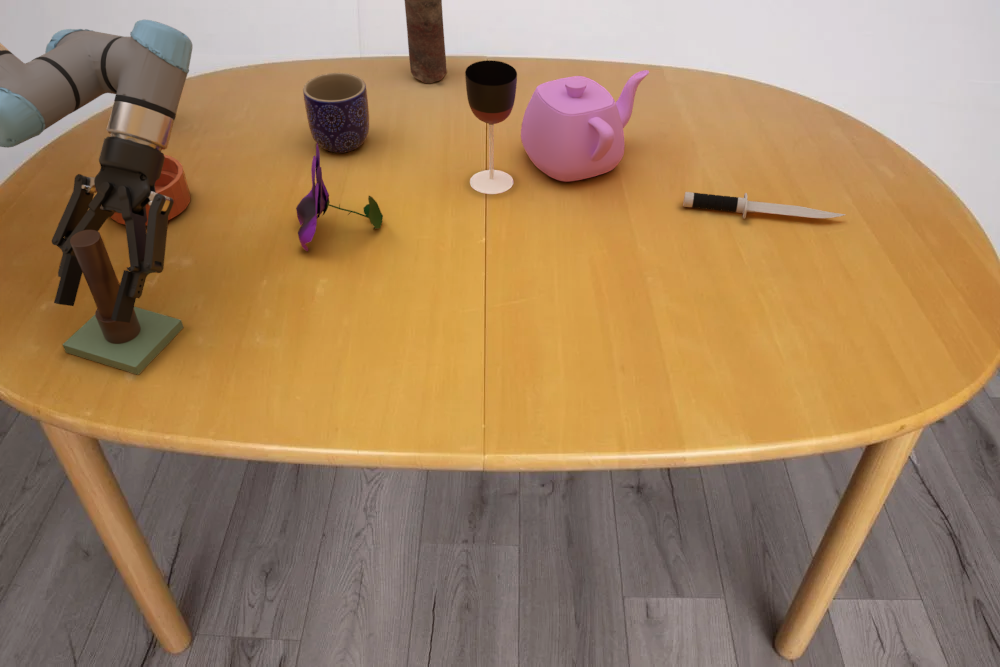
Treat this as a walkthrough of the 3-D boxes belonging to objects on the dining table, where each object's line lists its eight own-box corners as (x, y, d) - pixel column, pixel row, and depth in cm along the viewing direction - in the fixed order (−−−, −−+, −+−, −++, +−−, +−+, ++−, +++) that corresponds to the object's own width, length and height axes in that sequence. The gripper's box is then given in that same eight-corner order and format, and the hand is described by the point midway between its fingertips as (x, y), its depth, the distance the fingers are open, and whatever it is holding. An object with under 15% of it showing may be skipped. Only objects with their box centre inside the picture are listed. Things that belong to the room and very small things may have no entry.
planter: (304, 157, 156) (294, 99, 148) (320, 126, 164) (312, 70, 156) (364, 161, 155) (357, 103, 147) (378, 129, 163) (372, 73, 155)
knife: (684, 201, 142) (685, 184, 145) (682, 214, 143) (683, 197, 147) (850, 219, 138) (847, 201, 142) (845, 231, 140) (843, 213, 143)
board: (65, 352, 119) (61, 344, 118) (113, 307, 126) (110, 299, 125) (138, 375, 116) (135, 367, 115) (184, 327, 123) (181, 319, 122)
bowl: (92, 219, 142) (80, 187, 138) (143, 177, 151) (133, 147, 146) (159, 236, 138) (148, 204, 134) (207, 193, 147) (198, 162, 143)
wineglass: (501, 163, 154) (502, 56, 140) (523, 189, 148) (526, 79, 135) (460, 174, 152) (456, 66, 138) (481, 200, 146) (479, 90, 132)
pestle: (96, 338, 119) (56, 244, 108) (119, 316, 122) (82, 223, 111) (125, 347, 118) (87, 253, 107) (148, 325, 121) (113, 231, 110)
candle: (402, 76, 178) (394, -23, 165) (427, 63, 182) (421, -34, 169) (429, 87, 175) (423, -13, 161) (454, 74, 179) (450, -24, 165)
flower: (362, 228, 148) (284, 205, 142) (397, 156, 141) (316, 128, 134) (370, 282, 138) (287, 260, 132) (409, 207, 130) (322, 180, 124)
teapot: (561, 208, 144) (567, 126, 134) (507, 147, 158) (508, 69, 148) (678, 176, 151) (691, 96, 141) (616, 120, 165) (624, 44, 155)
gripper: (221, 166, 114) (177, 334, 114) (90, 136, 120) (48, 296, 120) (187, 151, 107) (140, 330, 107) (49, 120, 112) (4, 290, 112)
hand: (91, 312), depth 113 cm, fingers open, 8 cm apart
